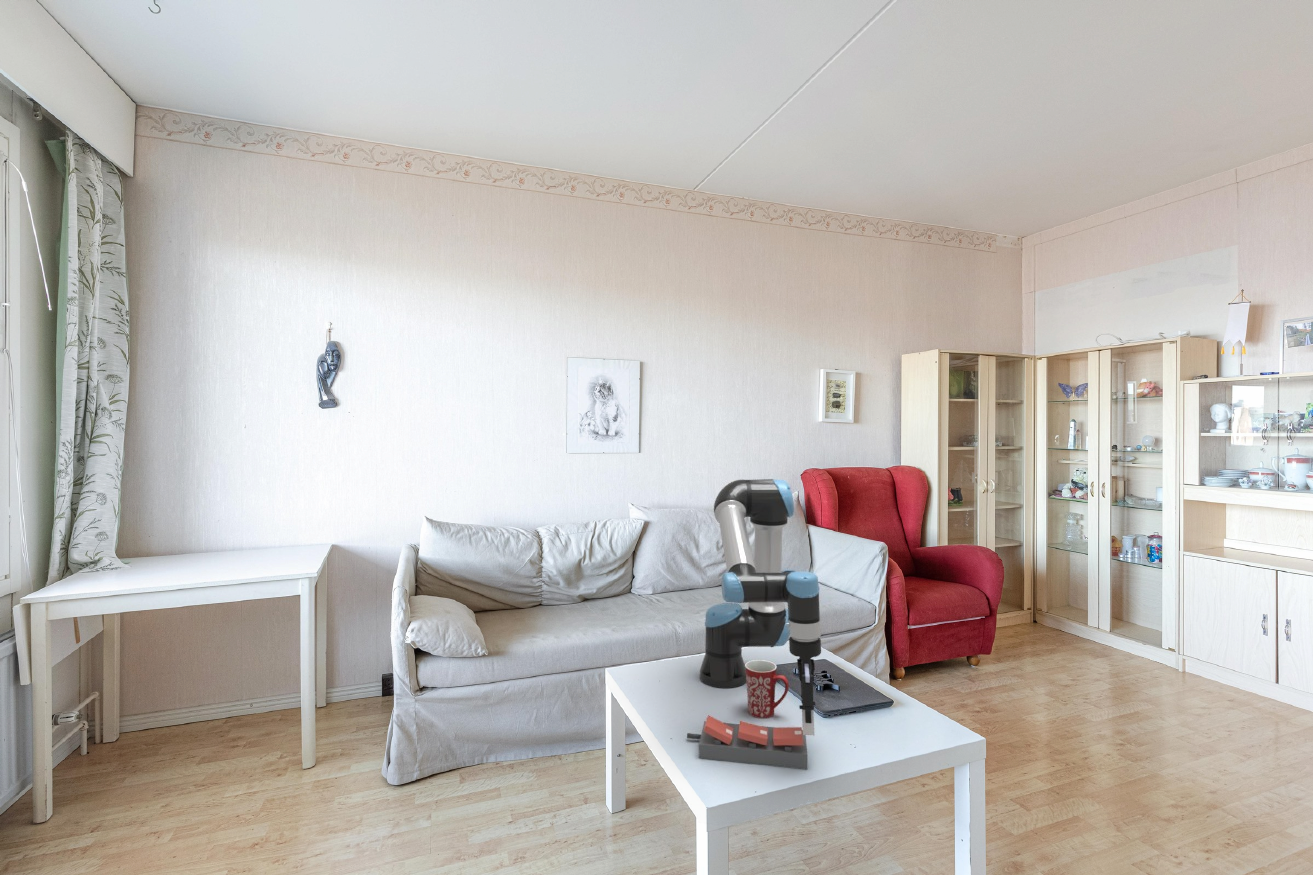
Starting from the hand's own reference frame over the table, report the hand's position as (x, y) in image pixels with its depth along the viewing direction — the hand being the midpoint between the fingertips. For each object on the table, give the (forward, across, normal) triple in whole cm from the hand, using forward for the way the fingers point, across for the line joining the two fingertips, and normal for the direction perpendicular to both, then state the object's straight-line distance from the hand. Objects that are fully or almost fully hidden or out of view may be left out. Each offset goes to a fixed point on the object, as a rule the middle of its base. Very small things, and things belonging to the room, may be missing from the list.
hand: (808, 733), depth 151 cm
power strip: (+6, -3, -16) cm, 17 cm away
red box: (+1, 0, -13) cm, 13 cm away
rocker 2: (+1, 0, -5) cm, 5 cm away
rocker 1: (0, 0, -22) cm, 22 cm away
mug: (+6, -24, -10) cm, 26 cm away
